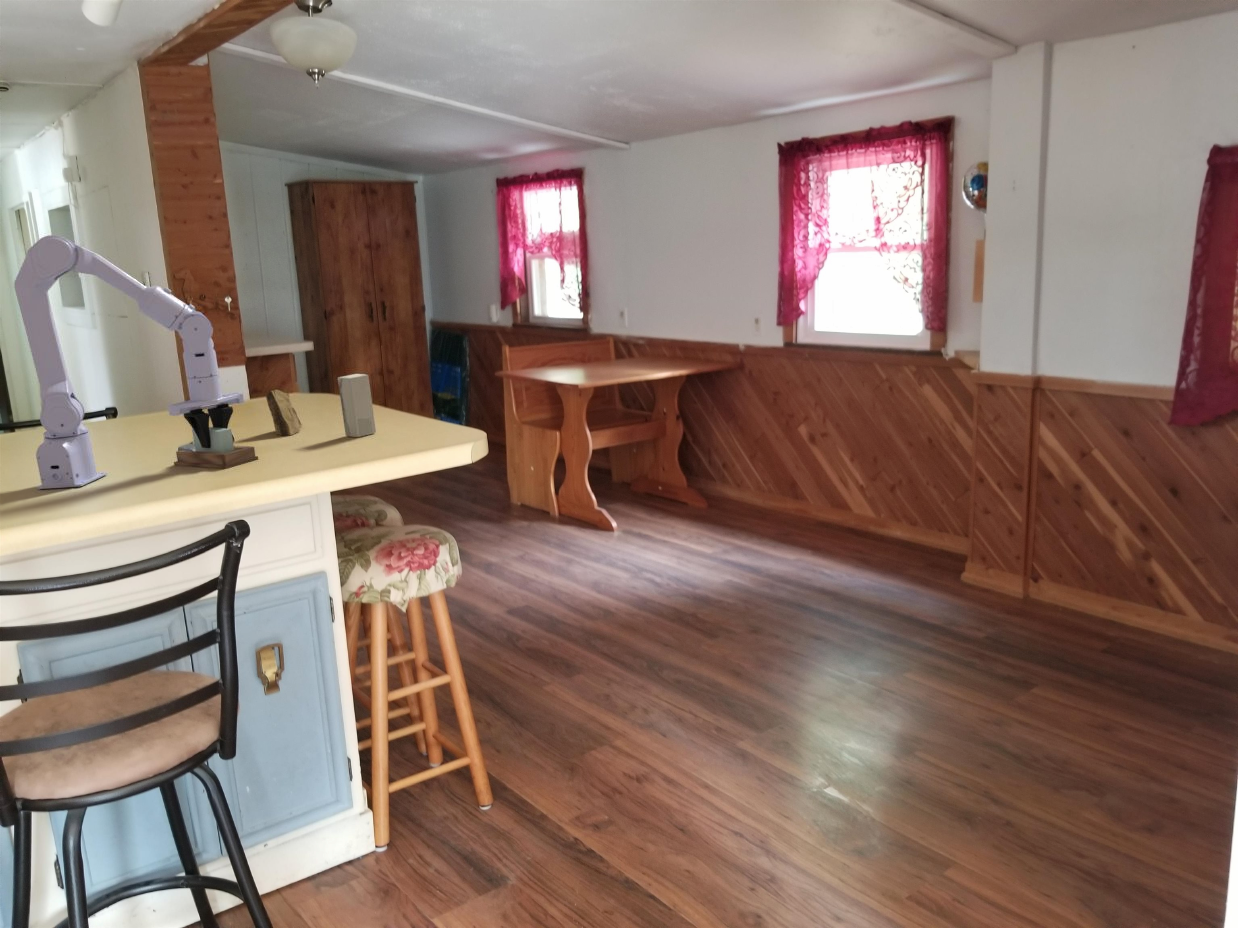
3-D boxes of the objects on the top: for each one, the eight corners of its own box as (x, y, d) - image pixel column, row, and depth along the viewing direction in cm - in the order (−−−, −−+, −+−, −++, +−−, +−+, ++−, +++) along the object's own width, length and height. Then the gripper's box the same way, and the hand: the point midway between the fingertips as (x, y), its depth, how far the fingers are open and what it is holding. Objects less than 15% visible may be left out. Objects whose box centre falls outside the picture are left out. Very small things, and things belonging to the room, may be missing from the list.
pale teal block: (196, 458, 187) (191, 428, 186) (208, 455, 190) (204, 426, 188) (223, 462, 182) (218, 431, 181) (235, 459, 184) (231, 429, 183)
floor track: (258, 459, 186) (256, 446, 186) (225, 468, 180) (223, 455, 179) (207, 456, 193) (205, 443, 192) (174, 465, 186) (172, 452, 185)
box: (364, 431, 209) (357, 373, 206) (376, 433, 206) (369, 374, 203) (343, 436, 205) (336, 376, 202) (356, 438, 202) (348, 377, 199)
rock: (285, 416, 222) (251, 418, 213) (301, 386, 219) (267, 387, 210) (314, 445, 219) (281, 449, 210) (331, 416, 216) (298, 418, 207)
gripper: (224, 370, 190) (235, 437, 193) (155, 381, 179) (167, 452, 182) (245, 371, 186) (256, 439, 189) (175, 382, 175) (187, 454, 178)
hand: (213, 445), depth 185 cm, fingers closed on pale teal block, 2 cm apart
